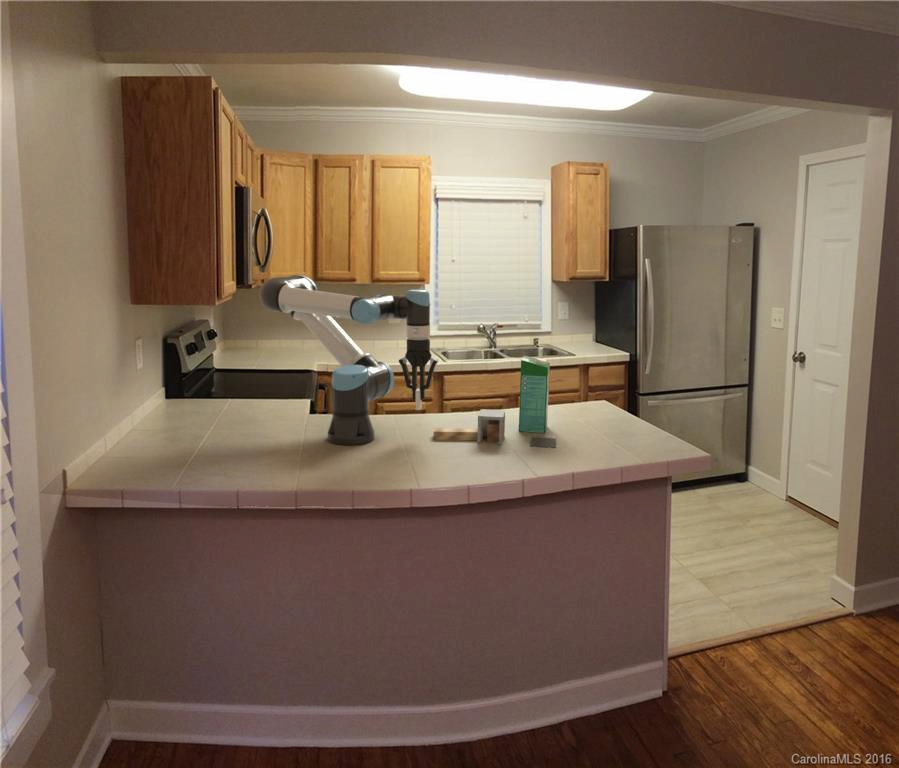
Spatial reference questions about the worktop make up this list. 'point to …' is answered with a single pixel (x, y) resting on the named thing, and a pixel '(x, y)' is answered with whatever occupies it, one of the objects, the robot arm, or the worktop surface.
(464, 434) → the tan long bar
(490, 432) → the block
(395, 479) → the worktop surface
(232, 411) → the worktop surface
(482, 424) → the tunnel
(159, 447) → the worktop surface
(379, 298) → the robot arm
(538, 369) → the milk carton
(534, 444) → the mat
